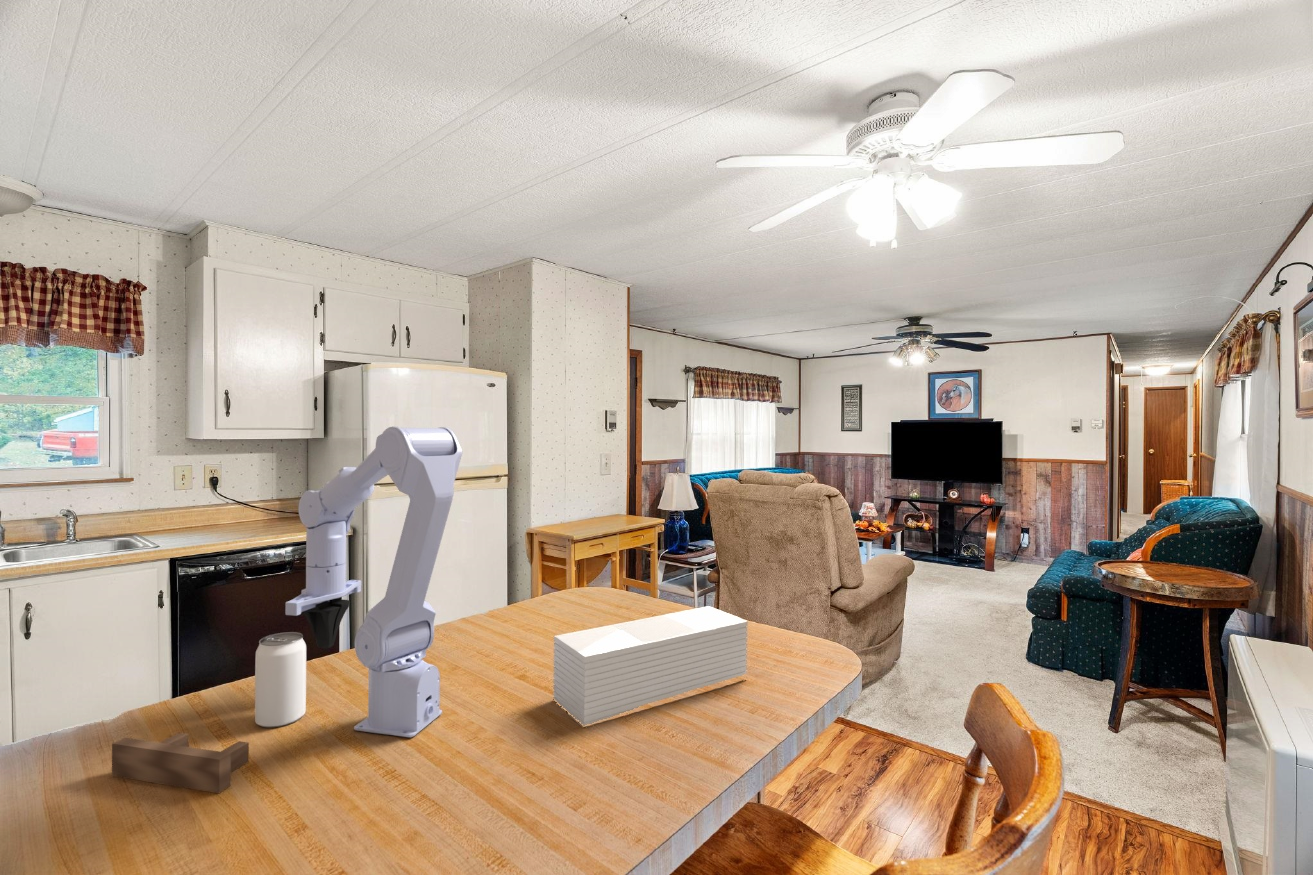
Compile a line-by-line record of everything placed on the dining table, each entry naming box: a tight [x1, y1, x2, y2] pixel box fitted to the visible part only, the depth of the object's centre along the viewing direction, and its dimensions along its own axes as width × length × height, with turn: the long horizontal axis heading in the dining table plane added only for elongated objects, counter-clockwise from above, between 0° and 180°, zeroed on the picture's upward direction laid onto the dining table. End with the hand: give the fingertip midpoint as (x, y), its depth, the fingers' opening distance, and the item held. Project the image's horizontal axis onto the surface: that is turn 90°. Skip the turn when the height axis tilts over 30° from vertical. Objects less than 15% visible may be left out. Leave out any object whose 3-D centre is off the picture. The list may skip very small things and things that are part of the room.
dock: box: [111, 732, 250, 794], centre depth 77 cm, size 16×6×4 cm, turn 78°
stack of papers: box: [552, 605, 749, 726], centre depth 103 cm, size 32×11×11 cm, turn 124°
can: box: [254, 631, 307, 729], centre depth 91 cm, size 6×6×12 cm
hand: (325, 646), depth 100 cm, fingers closed
